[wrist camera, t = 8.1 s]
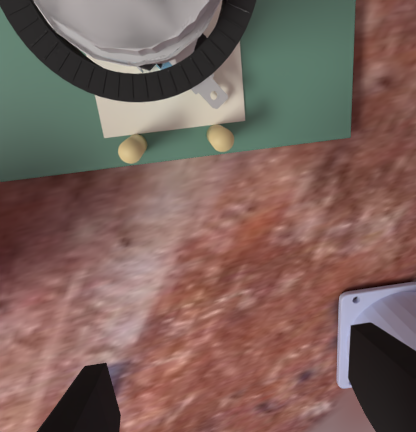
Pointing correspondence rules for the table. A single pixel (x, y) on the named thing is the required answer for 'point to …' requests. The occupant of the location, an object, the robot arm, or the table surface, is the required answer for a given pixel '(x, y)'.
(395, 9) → the table surface
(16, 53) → the board
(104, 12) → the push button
